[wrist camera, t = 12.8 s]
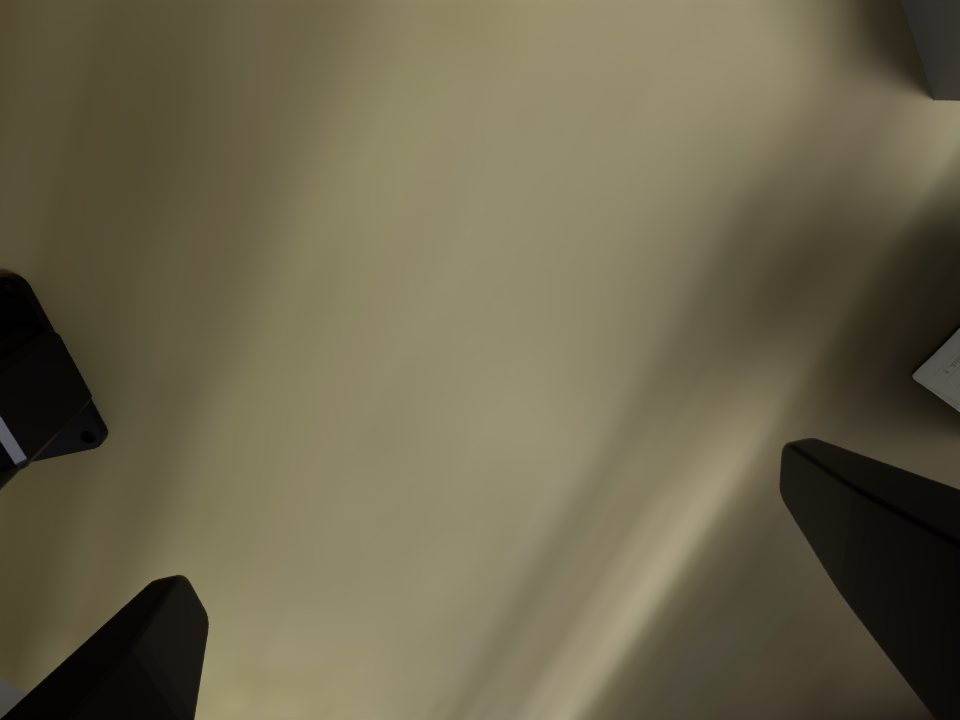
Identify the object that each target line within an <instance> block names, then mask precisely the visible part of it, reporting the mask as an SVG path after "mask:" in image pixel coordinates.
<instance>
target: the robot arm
mask: <svg viewBox="0 0 960 720" xmlns="http://www.w3.org/2000/svg"><path fill="white" fill-rule="evenodd" d="M5 285H8V286H10V287H12V288H13V289H14V290H15V293H16V296H13V295H11V294H9V293H8V292H7V291H6V289H5ZM91 398H92V395H91V393H90V391H89V389H88V387H87V385H86V384H85V382H84V380H83V378H82V376H81V374H80V372H79V371H78V369H77V367H76V365H75V363H74V361H73V359H72V357H71V356H70V354H69V352H68V350H67V348H66V346H65V344H64V343H63V341H62V339H61V337H60V335H59V334H57V333H56V332H55V331H54V329H53V327H52V325H51V324H50V322H49V320H48V318H47V316H46V314H45V312H44V311H43V309H42V307H41V305H40V303H39V301H38V299H37V298H36V296H35V294H34V292H33V290H32V288H31V286H30V285H29V284H28V282H27V281H26V280H25V279H24V278H22V277H21V276H19V275H16V274H13V273H10V274H1V275H0V490H1V489H2V488H3V487H4V486H5V485H6V484H7V483H8V482H9V481H10V480H11V479H12V478H13V477H14V476H15V475H16V474H17V473H18V472H19V471H20V470H21V469H23V468H25V467H27V466H28V465H29V464H30V463H31V462H33V461H38V460H43V459H47V458H52V457H57V456H62V455H66V454H71V453H76V452H80V451H85V450H90V449H94V448H97V447H99V446H100V445H101V444H102V443H103V442H104V440H105V439H106V438H107V436H108V430H107V427H106V425H105V424H104V422H103V420H102V418H101V416H100V414H99V412H98V411H97V409H96V407H95V405H94V403H93V401H92V399H91ZM86 431H90V432H92V433H93V434H94V435H95V437H91V436H89V435H88V434H87V433H86ZM779 485H780V493H781V497H782V499H783V501H784V503H785V505H786V507H787V508H788V510H789V512H790V513H791V515H792V516H793V518H794V520H795V521H796V523H797V525H798V526H799V528H800V530H801V531H802V533H803V534H804V536H805V538H806V539H807V541H808V543H809V544H810V546H811V548H812V549H813V551H814V552H815V554H816V556H817V557H818V559H819V561H820V562H821V564H822V566H823V567H824V569H825V571H826V572H827V574H828V575H829V577H830V579H831V580H832V582H833V583H834V585H835V586H836V588H837V589H838V591H839V592H840V594H841V595H842V597H843V598H844V599H845V601H846V602H847V603H848V605H849V606H850V608H851V609H852V610H853V611H854V613H855V614H856V615H857V617H858V618H859V619H860V621H861V622H862V623H863V625H864V626H865V627H866V629H867V630H868V631H869V633H870V634H871V635H872V637H873V638H874V639H875V641H876V642H877V643H878V644H879V646H880V647H881V648H882V650H883V651H884V652H885V654H886V655H887V656H888V658H889V659H890V660H891V662H892V663H893V664H894V666H895V667H896V668H897V670H898V671H899V672H900V673H901V675H902V676H903V677H904V679H905V680H906V681H907V683H908V684H909V685H910V687H911V688H912V689H913V691H914V692H915V693H916V695H917V696H918V697H919V699H920V700H921V701H922V702H923V704H924V705H925V706H926V708H927V709H928V710H929V712H930V713H931V714H932V716H933V717H934V718H935V720H960V490H959V489H957V488H954V487H951V486H948V485H945V484H942V483H940V482H937V481H934V480H931V479H928V478H925V477H923V476H920V475H917V474H914V473H911V472H909V471H906V470H903V469H900V468H897V467H894V466H892V465H889V464H886V463H883V462H880V461H878V460H875V459H872V458H869V457H866V456H863V455H861V454H858V453H855V452H852V451H849V450H847V449H844V448H841V447H838V446H835V445H832V444H830V443H827V442H824V441H821V440H818V439H815V438H807V439H802V440H797V441H793V442H789V443H787V444H785V445H784V447H783V449H782V456H781V470H780V484H779ZM208 628H209V622H208V616H207V613H206V610H205V609H204V607H203V605H202V603H201V601H200V599H199V598H198V596H197V594H196V592H195V590H194V589H193V587H192V585H191V583H190V581H189V580H188V579H187V578H186V577H185V576H183V575H175V576H170V577H166V578H161V579H157V580H154V581H153V582H151V583H150V584H149V585H147V586H146V587H145V588H144V589H143V590H142V591H141V592H140V593H139V594H138V595H136V596H135V597H134V598H133V599H132V600H131V601H130V602H129V603H128V604H127V605H125V606H124V607H123V608H122V609H121V610H120V611H119V612H118V613H117V614H116V615H114V616H113V617H112V618H111V619H110V620H109V621H108V622H107V623H106V624H105V625H103V626H102V627H101V628H100V629H99V630H98V631H97V632H96V633H95V634H94V635H92V636H91V637H90V638H89V639H88V640H87V641H86V642H85V643H84V644H83V645H81V646H80V647H79V648H78V649H77V650H76V651H75V652H74V653H73V654H72V655H70V656H69V657H68V658H67V659H66V660H65V661H64V662H63V663H62V664H61V665H60V666H58V667H57V668H56V669H55V670H54V671H53V672H52V673H51V674H50V675H49V676H47V677H46V678H45V679H44V680H43V681H42V682H41V683H40V684H39V685H38V686H36V687H35V688H34V689H33V690H32V691H31V692H30V693H29V694H28V695H27V696H26V697H24V698H23V699H22V700H21V701H20V702H19V703H18V704H17V705H16V706H14V707H13V708H12V709H11V710H10V711H9V712H8V713H7V714H6V715H5V716H3V717H2V718H1V719H0V720H194V718H195V712H196V706H197V699H198V693H199V686H200V680H201V674H202V667H203V661H204V655H205V648H206V642H207V636H208Z"/></svg>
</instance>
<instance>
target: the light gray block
mask: <svg viewBox="0 0 960 720" xmlns="http://www.w3.org/2000/svg"><path fill="white" fill-rule="evenodd" d="M901 2H902V5H903V8H904V11H905V14H906V17H907V20H908V23H909V26H910V29H911V32H912V35H913V38H914V41H915V44H916V47H917V50H918V53H919V56H920V59H921V62H922V65H923V68H924V71H925V74H926V77H927V80H928V84H929V87H930V90H931V93H932V96H933V99H934V100H954V101H960V0H901Z"/></svg>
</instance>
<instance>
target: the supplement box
mask: <svg viewBox="0 0 960 720" xmlns="http://www.w3.org/2000/svg"><path fill="white" fill-rule="evenodd" d="M912 377H913V379H914V380H915V381H917V382H918V383H920V384H921V385H923V386H924V387H926V388H927V389H929V390H930V391H931V392H933V393H934V394H936V395H937V396H938V397H940V398H941V399H942V400H944V401H945V402H946V403H948V404H949V405H951V406H952V407H953V408H955V409H956V410H957V411H959V412H960V328H959V329H958V330H957V331H956V332H955V333H954V334H953V335H952V337H951V338H950V339H949V340H948V341H947V342H946V343H945V344H944V345H943V346H942V347H941V348H940V349H939V350H938V351H937V352H936V353H935V354H934V355H932V356H931V357H930V358H929V359H928V360H927V361H926V362H925V363H924V364H923V365H922V366H921V367H920V368H918V369H917V370H916V372H915V373H914V374H913V375H912Z"/></svg>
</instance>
